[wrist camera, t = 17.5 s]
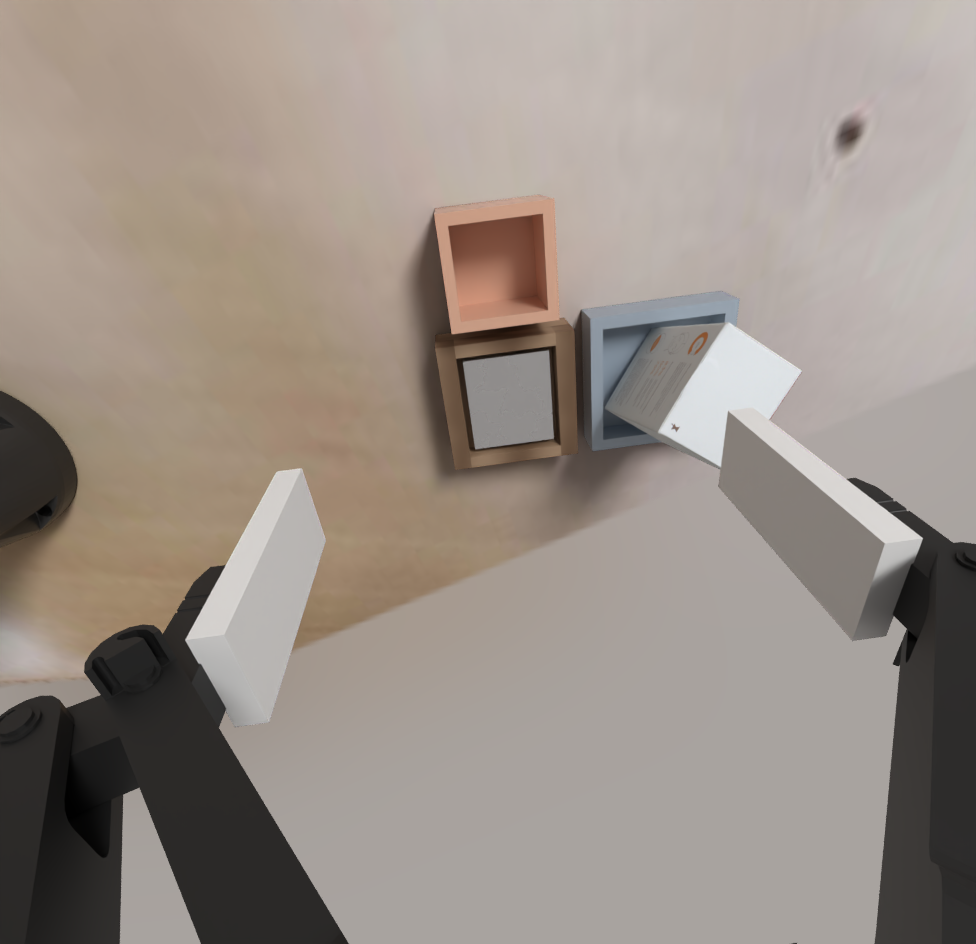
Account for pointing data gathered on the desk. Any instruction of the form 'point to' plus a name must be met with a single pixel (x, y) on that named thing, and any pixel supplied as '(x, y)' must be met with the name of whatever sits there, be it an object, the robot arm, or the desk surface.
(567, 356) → the brown wooden square tray
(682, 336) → the small box
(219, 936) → the robot arm
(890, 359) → the desk surface
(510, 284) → the pink open box
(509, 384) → the plate
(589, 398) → the tray
